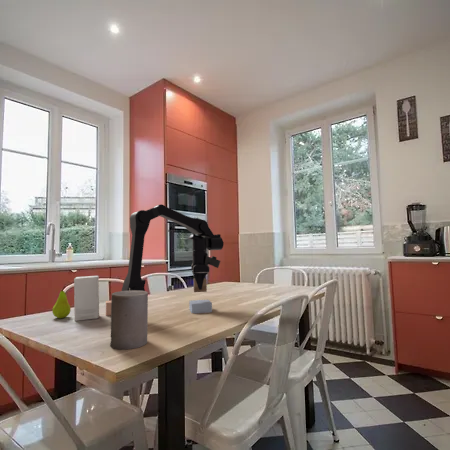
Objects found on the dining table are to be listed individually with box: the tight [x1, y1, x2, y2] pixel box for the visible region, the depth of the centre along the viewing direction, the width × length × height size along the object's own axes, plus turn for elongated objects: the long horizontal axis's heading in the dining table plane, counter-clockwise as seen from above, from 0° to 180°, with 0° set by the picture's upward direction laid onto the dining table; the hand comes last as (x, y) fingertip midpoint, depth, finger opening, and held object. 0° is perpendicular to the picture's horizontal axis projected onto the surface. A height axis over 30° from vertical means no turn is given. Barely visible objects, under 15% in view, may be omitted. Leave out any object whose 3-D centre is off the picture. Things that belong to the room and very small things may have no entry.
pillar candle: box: [109, 288, 149, 350], centre depth 83 cm, size 10×10×15 cm
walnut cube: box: [193, 277, 208, 293], centre depth 125 cm, size 5×5×5 cm
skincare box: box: [73, 275, 100, 322], centre depth 116 cm, size 8×7×16 cm
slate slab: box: [188, 299, 213, 314], centre depth 125 cm, size 8×8×4 cm
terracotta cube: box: [104, 300, 111, 317], centre depth 122 cm, size 5×5×5 cm
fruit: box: [51, 285, 72, 319], centre depth 117 cm, size 6×6×12 cm
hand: (199, 288), depth 125 cm, fingers closed on walnut cube, 5 cm apart
